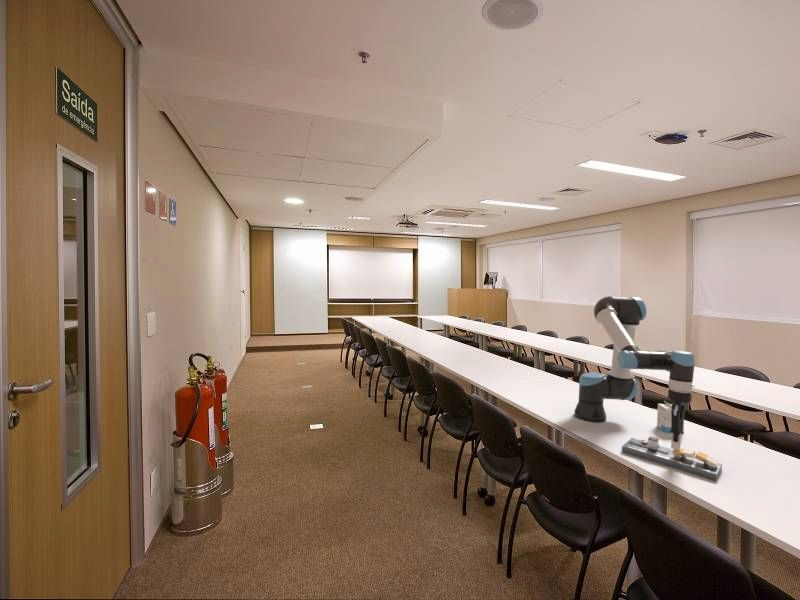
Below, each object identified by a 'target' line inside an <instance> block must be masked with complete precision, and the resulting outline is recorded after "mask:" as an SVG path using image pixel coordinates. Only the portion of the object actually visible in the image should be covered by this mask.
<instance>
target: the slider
mask: <svg viewBox="0 0 800 600" xmlns="http://www.w3.org/2000/svg"><path fill="white" fill-rule="evenodd" d="M647 441H648V448H649V449H653V450H657V449H658V444H659V441H660V438H659V437H653V436H648V438H647Z"/></svg>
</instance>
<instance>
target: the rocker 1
mask: <svg viewBox="0 0 800 600" xmlns="http://www.w3.org/2000/svg"><path fill="white" fill-rule="evenodd" d="M673 455H676V456H682V457H689V458H693V457H694V456H695V455H696V450H695V449H694V450H693V449H686V448H681V447H680V450H675V449H673Z"/></svg>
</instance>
